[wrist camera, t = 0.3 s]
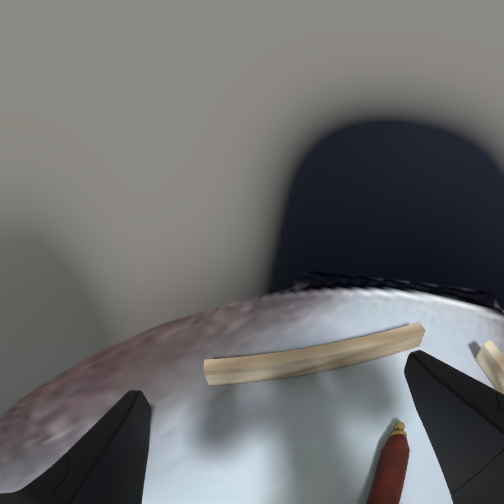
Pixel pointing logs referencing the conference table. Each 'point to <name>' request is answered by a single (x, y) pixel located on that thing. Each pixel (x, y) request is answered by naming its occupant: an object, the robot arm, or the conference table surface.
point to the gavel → (391, 469)
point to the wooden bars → (337, 358)
